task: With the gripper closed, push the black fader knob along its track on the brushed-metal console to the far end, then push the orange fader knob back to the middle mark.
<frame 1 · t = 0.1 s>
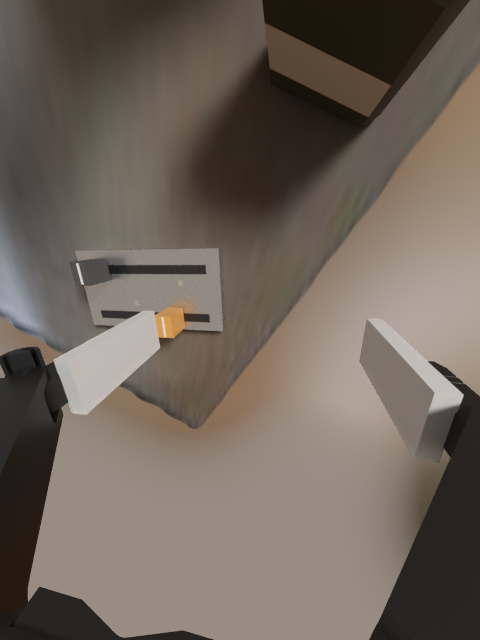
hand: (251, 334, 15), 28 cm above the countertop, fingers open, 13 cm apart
bottle: (331, 73, 31), on the countertop
black fader: (91, 271, 42), point 5 cm above the countertop, slide at 0.0 cm
orange fader: (170, 322, 42), point 5 cm above the countertop, slide at 14.0 cm
console: (154, 288, 46), on the countertop
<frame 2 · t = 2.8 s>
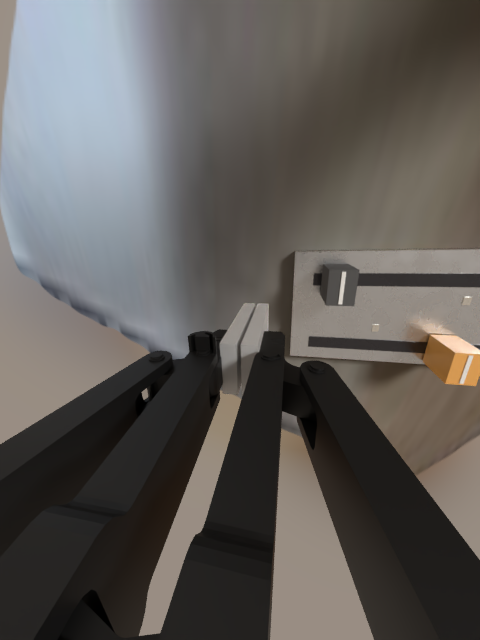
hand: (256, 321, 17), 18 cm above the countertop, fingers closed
black fader: (337, 283, 28), point 5 cm above the countertop, slide at 0.0 cm
orange fader: (451, 358, 28), point 5 cm above the countertop, slide at 14.0 cm
console: (397, 306, 32), on the countertop
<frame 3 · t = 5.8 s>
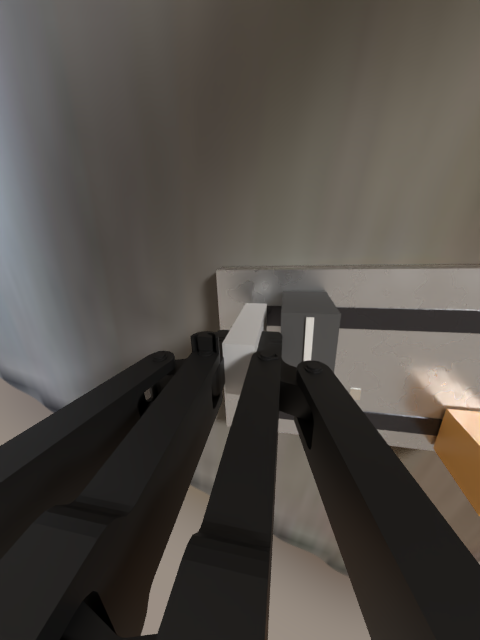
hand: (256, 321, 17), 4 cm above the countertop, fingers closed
black fader: (304, 330, 15), point 5 cm above the countertop, slide at 1.5 cm, touching gripper
console: (391, 356, 19), on the countertop
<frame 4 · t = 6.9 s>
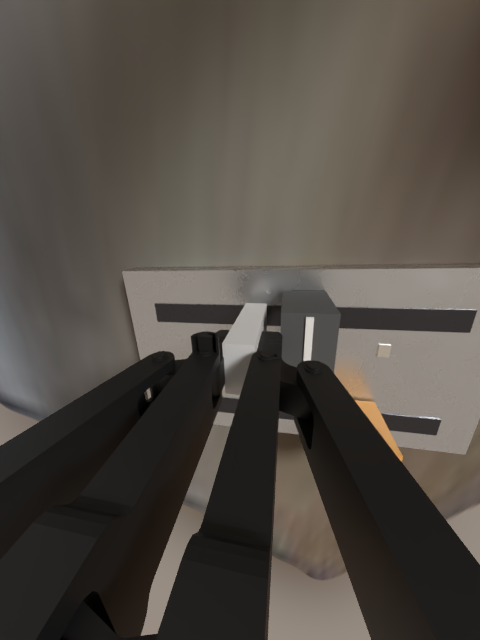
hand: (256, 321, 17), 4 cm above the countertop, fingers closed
black fader: (304, 330, 15), point 5 cm above the countertop, slide at 9.5 cm, touching gripper
orange fader: (360, 444, 17), point 5 cm above the countertop, slide at 14.0 cm
console: (292, 351, 21), on the countertop
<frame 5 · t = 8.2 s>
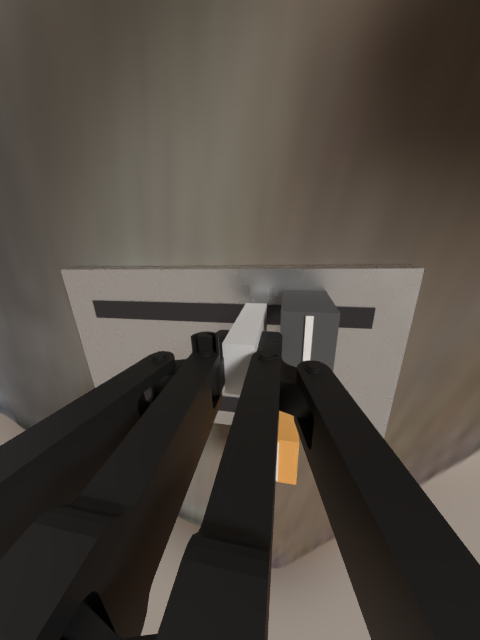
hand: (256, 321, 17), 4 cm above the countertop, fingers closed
black fader: (304, 329, 15), point 5 cm above the countertop, slide at 15.6 cm, touching gripper
orange fader: (276, 433, 19), point 5 cm above the countertop, slide at 14.0 cm
console: (226, 346, 22), on the countertop
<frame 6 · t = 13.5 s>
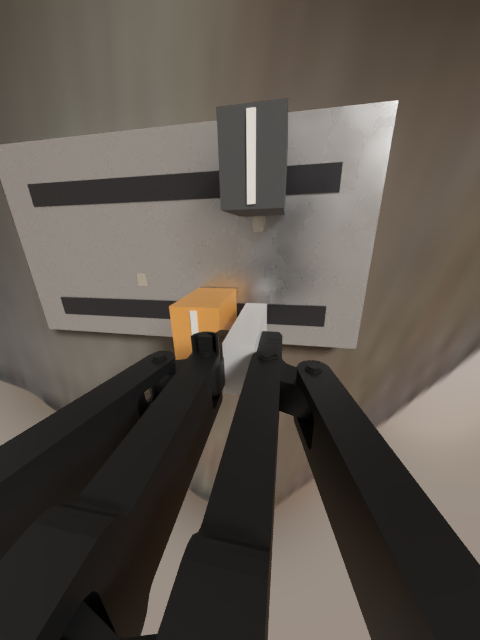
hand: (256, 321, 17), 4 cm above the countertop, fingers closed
black fader: (257, 172, 13), point 5 cm above the countertop, slide at 15.7 cm
orange fader: (208, 324, 16), point 5 cm above the countertop, slide at 12.3 cm, touching gripper
console: (184, 246, 20), on the countertop
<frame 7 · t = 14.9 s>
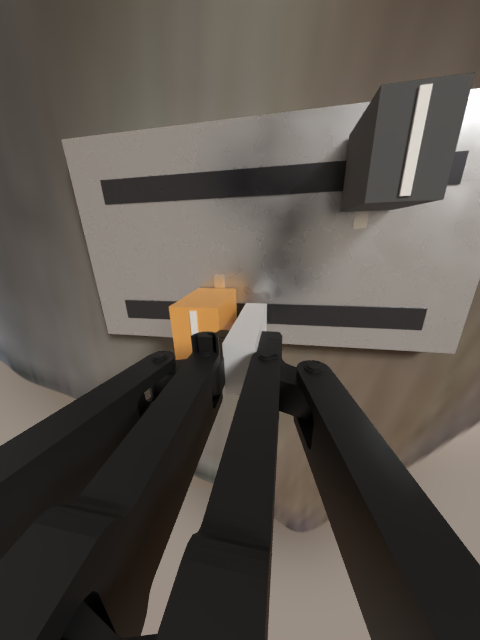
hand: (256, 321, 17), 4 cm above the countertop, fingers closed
black fader: (389, 161, 11), point 5 cm above the countertop, slide at 15.7 cm
orange fader: (208, 324, 16), point 5 cm above the countertop, slide at 5.8 cm, touching gripper
console: (261, 245, 18), on the countertop
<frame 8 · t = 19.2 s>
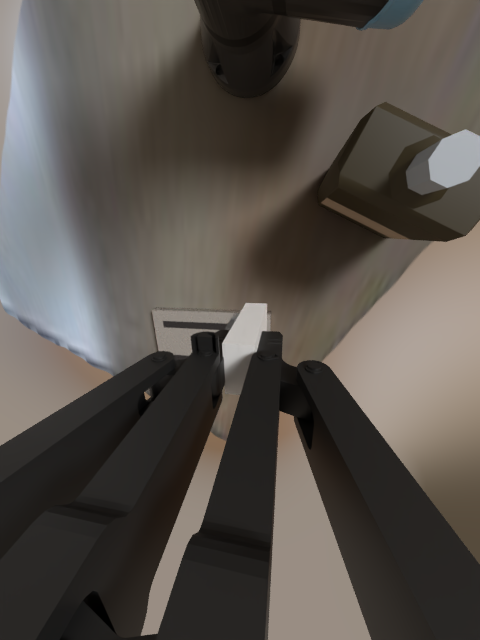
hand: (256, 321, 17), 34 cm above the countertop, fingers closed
bottle: (363, 199, 42), on the countertop
black fader: (235, 332, 50), point 5 cm above the countertop, slide at 15.7 cm
console: (213, 338, 57), on the countertop
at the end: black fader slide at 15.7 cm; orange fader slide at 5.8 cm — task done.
